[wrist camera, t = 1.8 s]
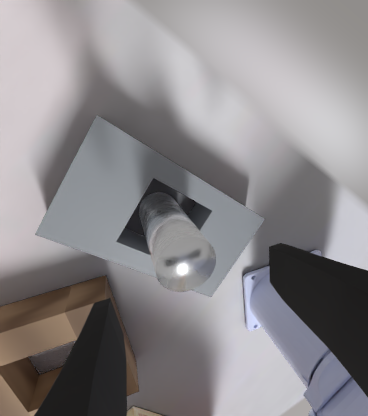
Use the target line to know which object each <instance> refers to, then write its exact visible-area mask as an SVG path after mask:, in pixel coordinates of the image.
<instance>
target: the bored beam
mask: <svg viewBox="0 0 368 416" xmlns="http://www.w3.org/2000/svg"><path fill="white" fill-rule="evenodd" d="M153 178H155V179H156V180H158V181H160V182H162V183H164V184H165V185H167V186H169V187H171V188H173V189H174V190H176V191H178V192H180V193H181V194H183V195H185V196H187V197H189V198H190V199H192V200H194V201H196V204H195V205H194V207H193V208H192V210H191V212H190V213H189V215H188V217H189V218H190V219H191V221H192V222H193V223H194V224H195V226H196V227H197V228H198V229H199V231H200V232H201V233H202V234H203V236H204V237H205V238H206V239H207V240H208V242H209V243H210V244H211V245H212V247H213V248H214V250H215V253H216V265H215V268H214V271H213V273H212V274H211V276H210V277H209V278H208V279H207V280H206V281H205V282H204V283H203V284H202V285H200V286H199V287H197V288H195V289H192V291H195V292H198V293H201V294H203V295H206V296H209V297H212V295H213V294H214V292H215V291H216V290H217V288H218V287H219V285H220V284H221V282H222V281H223V279H224V278H225V277H226V275H227V274H228V272H229V271H230V269H231V268H232V266H233V265H234V263H235V262H236V261H237V259H238V258H239V256H240V255H241V253H242V252H243V250H244V249H245V248H246V246H247V245H248V243H249V242H250V240H251V239H252V237H253V236H254V234H255V233H256V232H257V230H258V229H259V227H260V226H261V224H262V223H263V221H264V220H265V219H264V218H263V217H261V216H260V215H258V214H256V213H255V212H253V211H252V210H250V209H249V208H247V207H245V206H244V205H242V204H241V203H239V202H237V201H236V200H234V199H232V198H231V197H229V196H228V195H226V194H224V193H223V192H221V191H219V190H218V189H216V188H215V187H213V186H211V185H210V184H208V183H207V182H205V181H203V180H202V179H200V178H198V177H197V176H195V175H194V174H192V173H190V172H189V171H187V170H185V169H184V168H182V167H181V166H179V165H177V164H176V163H174V162H173V161H171V160H169V159H168V158H166V157H164V156H163V155H161V154H160V153H158V152H156V151H155V150H153V149H152V148H150V147H148V146H147V145H145V144H143V143H142V142H140V141H139V140H137V139H135V138H134V137H132V136H130V135H129V134H127V133H126V132H124V131H122V130H121V129H119V128H118V127H116V126H114V125H113V124H111V123H109V122H108V121H106V120H105V119H103V118H101V117H100V116H98V115H96V117H95V119H94V121H93V123H92V125H91V127H90V129H89V131H88V133H87V135H86V137H85V139H84V141H83V143H82V145H81V146H80V148H79V150H78V152H77V154H76V156H75V158H74V160H73V162H72V164H71V166H70V168H69V170H68V172H67V174H66V176H65V177H64V179H63V181H62V183H61V185H60V187H59V189H58V191H57V193H56V195H55V197H54V199H53V201H52V203H51V205H50V207H49V208H48V210H47V212H46V214H45V216H44V218H43V220H42V222H41V224H40V226H39V228H38V230H37V232H36V234H35V235H37V236H40V237H43V238H46V239H49V240H52V241H54V242H57V243H60V244H63V245H66V246H68V247H71V248H74V249H77V250H80V251H82V252H85V253H88V254H91V255H94V256H97V257H99V258H102V259H105V260H108V261H111V262H113V263H116V264H119V265H122V266H125V267H127V268H130V269H133V270H136V271H139V272H142V273H144V274H147V275H150V276H153V277H156V278H157V276H156V273H155V269H154V266H153V262H152V259H151V255H150V252H149V248H148V245H147V241H146V238H145V236H142V235H140V234H138V233H135V232H133V231H131V230H128V229H126V228H124V227H125V226H126V224H127V222H128V221H129V219H130V217H131V215H132V214H133V212H134V210H135V209H136V207H137V205H138V203H139V202H140V200H141V198H142V197H143V195H144V193H145V191H146V190H147V188H148V186H149V185H150V183H151V181H152V179H153Z"/></svg>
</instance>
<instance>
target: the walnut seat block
mask: <svg viewBox="0 0 368 416" xmlns="http://www.w3.org/2000/svg"><path fill="white" fill-rule="evenodd" d="M108 298H111V301H112V304H113V306H114V309H115V312H116V315H117V317H118V320H119V323H120V326H121V328H122V331H123V334H124V342H125V351H126V364H127V396H129V395H131V394H134V393H136V392H138V391H139V386H138V376H137V366H136V359H135V356H134V354H133V351H132V348H131V345H130V342H129V339H128V337H127V334H126V331H125V328H124V325H123V322H122V320H121V317H120V314H119V311H118V308H117V306H116V303H115V300H114V297H113V294H112V291H111V289H110V286H109V283H108V280H107V277H106V275H105V276H102V277H98V278H95V279H91V280H88V281H85V282H81V283H78V284H75V285H71V286H68V287H65V288H61V289H58V290H55V291H51V292H48V293H45V294H41V295H38V296H34V297H31V298H28V299H24V300H21V301H18V302H14V303H11V304H8V305H4V306H1V307H0V416H34V415H35V413H36V412H37V410H38V409H39V407H40V405H41V404H42V402H43V400H44V399H45V397H46V395H47V394H48V392H49V390H50V389H51V387H52V385H53V383H54V382H55V380H56V378H57V376H58V374H59V373H60V371H61V369H62V367H60V368H57V369H55V370H52V371H49V372H46V373H44V374H41V375H39V374H38V373H37V371H36V369H35V368H34V366H33V365H32V363H31V361H30V360H29V358H28V357H29V356H32V355H35V354H37V353H40V352H43V351H46V350H49V349H52V348H55V347H58V346H61V345H64V344H66V343H69V342H72V341H75V340H77V338H78V336H79V334H80V332H81V330H82V328H83V326H84V324H85V322H86V319H87V317H88V315H89V313H90V310H91V308H92V306H93V304H94V303H95V302H98V301H102V300H105V299H108Z"/></svg>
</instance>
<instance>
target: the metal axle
mask: <svg viewBox="0 0 368 416" xmlns="http://www.w3.org/2000/svg"><path fill="white" fill-rule="evenodd" d="M139 217H140V220H141V224H142V227H143V231H144V234H145V238H146V241H147V245H148V248H149V252H150V255H151V259H152V262H153V266H154V269H155V273H156V276H157V279H158V281H159V282H160V283H161V285H163V286H164V287H165V288H167V289H169V290H172V291H176V292H184V291H189V290H192V289H195V288H197V287H199V286H200V285H202V284H203V283H204V282H205V281H206V280H207V279H208V278H209V277H210V276H211V274H212V273H213V271H214V268H215V265H216V253H215V250H214V248H213V247H212V245H211V244H210V243H209V242H208V240H207V239H206V238H205V237H204V236H203V234H202V233H201V232H200V231H199V229H198V228H197V227H196V226H195V224H194V223H193V222H192V221H191V219H190V218H189V217H188V216H187V214H186V213H185V212H184V211H183V209H182V208H181V207H180V206H179V205H178V203H177V202H176V201H175V200H174V198H173V197H172V196H170V195H169V194H167V193H164V192H155V193H152V194H150V195H148V196H146V197H145V198H144V199H143V201H142V202H141V204H140V207H139Z"/></svg>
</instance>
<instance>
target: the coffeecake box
mask: <svg viewBox="0 0 368 416" xmlns="http://www.w3.org/2000/svg"><path fill="white" fill-rule="evenodd" d="M127 416H162V415H159V414H156V413H153V412H150V411H147V410H144V409H140V408H137V407H134V406H133V407H132V408H130V409H129V410H128V411H127Z"/></svg>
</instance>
